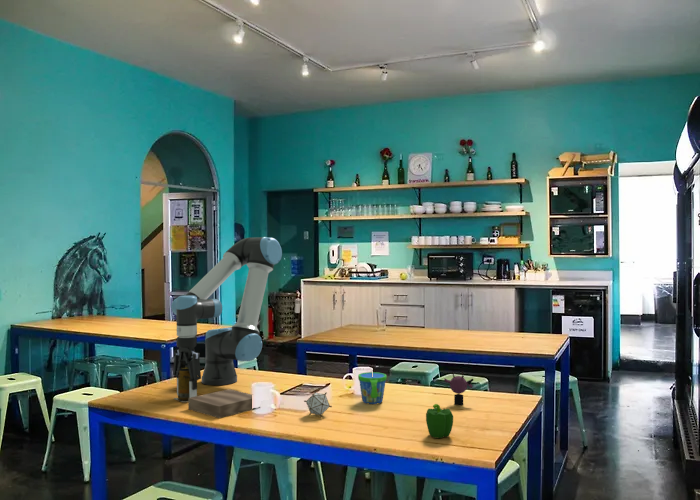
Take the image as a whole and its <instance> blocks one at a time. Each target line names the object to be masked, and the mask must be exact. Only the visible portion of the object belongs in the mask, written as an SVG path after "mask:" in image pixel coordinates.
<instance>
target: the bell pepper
mask: <svg viewBox="0 0 700 500" xmlns="http://www.w3.org/2000/svg"><path fill="white" fill-rule="evenodd" d="M432 407H433V408H428V409H427V410H426V413H425V421H426V426H427V430H428V434H429V435H430V437H432V438H434V439H442V438H448V437H449V436H450V434H451V433H452V428H453V425H454V415H453V413H452V411H451V409H450V408H444V409H442V408H441V405H440V404H438V403H434V404H433V405H432Z"/></svg>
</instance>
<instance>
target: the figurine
mask: <svg viewBox="0 0 700 500" xmlns="http://www.w3.org/2000/svg"><path fill="white" fill-rule="evenodd" d="M460 374H461V375H457V376H456V375H455V373H454V371H452V372H451V375H452V378H451V380H450V379H447V378H444V379H443V380H444V382H445V383H448V384H449V387H450V390H451V391H452V392H453V393H455V394H454V399H453V401H454V402H453V404H454V405H455V406H464V395H463V393H464V392H466V390H467V389H468V387H469V388H471V389H472V388H473V386H474V385H472V382H473V381H474V379H473V378H471V379H469V380H466V378H465V377H464V376H465V375H464V374H465V373H464V371H461V372H460Z"/></svg>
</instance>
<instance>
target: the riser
mask: <svg viewBox="0 0 700 500" xmlns="http://www.w3.org/2000/svg"><path fill="white" fill-rule="evenodd" d="M252 395H253V394H251V393H246V392H242V391H238V390H235V389H230V388H228V389H224V390H219V391H215V392H210V393H205V394H200V395H197V396H195V397H191V398H188V402H187V403H188V404H187V405H188V410H189V411H193V412H197V413H200V414H204V415H206V416H210V417H214V418H217V419H221V418H226V417H229V416H233V415H237V414H241V413H245V412H248V411H249V412H250V411H252V410H251V409H252Z"/></svg>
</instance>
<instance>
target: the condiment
mask: <svg viewBox="0 0 700 500" xmlns="http://www.w3.org/2000/svg"><path fill="white" fill-rule="evenodd" d="M193 378H194V377H193ZM189 380H191V378H190V374H189V369H188V366H185V367H181V368H180V369H179V376H178V395H177V397H174V398H173V399H174V400H175V401H177V402H180V403H188V398H190V396H189Z"/></svg>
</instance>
